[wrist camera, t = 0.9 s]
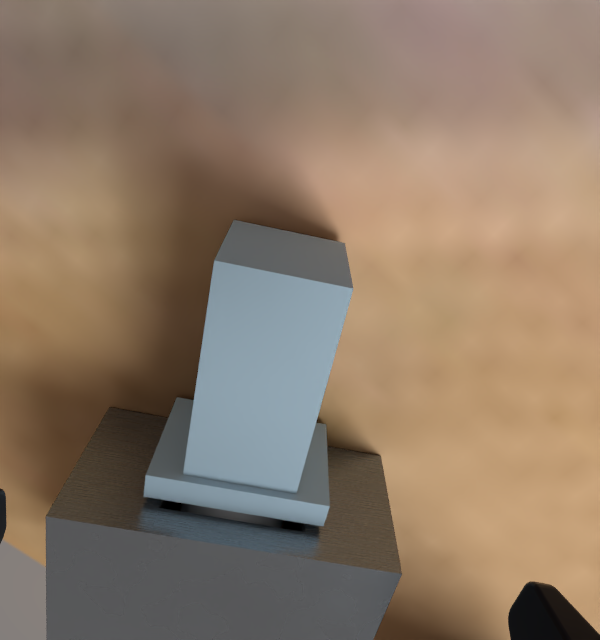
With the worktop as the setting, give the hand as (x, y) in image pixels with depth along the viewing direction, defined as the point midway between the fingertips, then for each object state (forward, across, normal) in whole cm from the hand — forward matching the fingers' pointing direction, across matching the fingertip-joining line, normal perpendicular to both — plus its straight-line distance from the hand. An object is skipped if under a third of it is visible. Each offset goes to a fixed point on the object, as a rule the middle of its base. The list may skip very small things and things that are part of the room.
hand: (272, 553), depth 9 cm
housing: (+12, 0, +11) cm, 17 cm away
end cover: (+12, 0, +6) cm, 13 cm away
